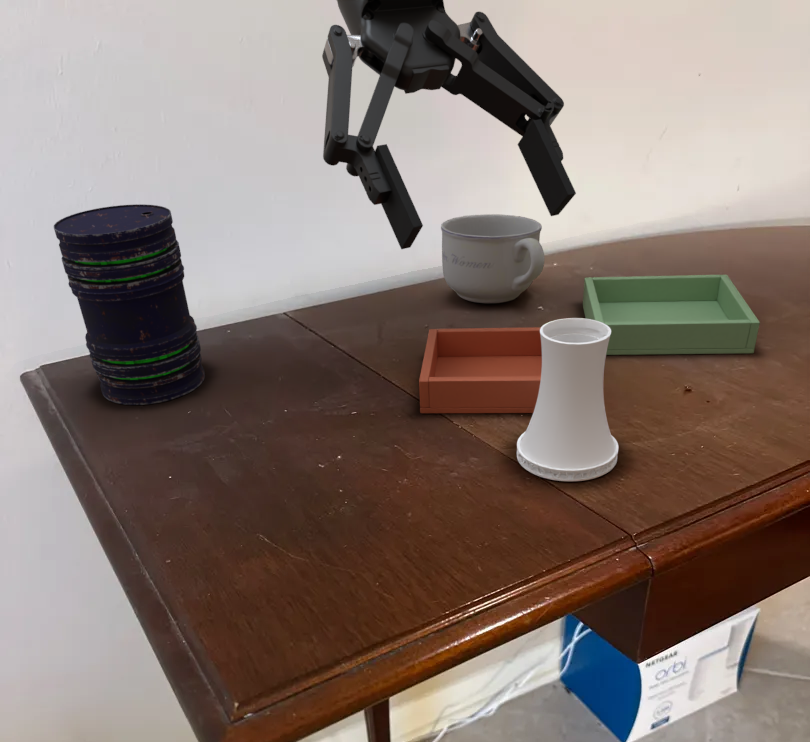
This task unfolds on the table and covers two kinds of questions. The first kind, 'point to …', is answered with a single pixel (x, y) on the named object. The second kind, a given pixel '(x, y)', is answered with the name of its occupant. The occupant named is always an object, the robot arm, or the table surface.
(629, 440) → the table surface
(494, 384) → the terracotta tray
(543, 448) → the vase
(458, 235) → the teacup
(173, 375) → the dark blue cylinder
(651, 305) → the green tray
